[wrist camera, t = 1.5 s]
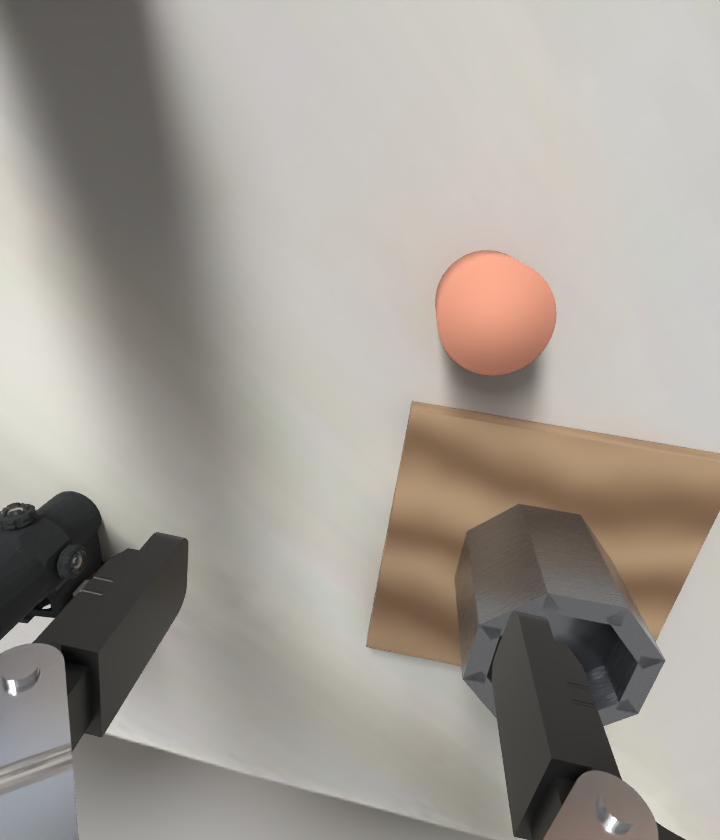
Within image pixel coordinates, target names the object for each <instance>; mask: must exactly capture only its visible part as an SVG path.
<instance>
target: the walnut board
mask: <svg viewBox="0 0 720 840" xmlns="http://www.w3.org/2000/svg"><path fill="white" fill-rule="evenodd" d="M517 504H525V505H530V506H536V507H541V508H547V509H552V510H558V511H564V512H569V513H575V514H580V515H581V516H582V517H583V519H584V520H585V522H586V523H587V525H588V526H589V528H590V529H591V531H592V532H593V533H594V535H595V536H596V538H597V539H598V541H599V542H600V544H601V545H602V546H603V548H604V549H605V551H606V552H607V554H608V555H609V557H610V558H611V560H612V562H613V564H614V566H615V567H616V569H617V571H618V573H619V575H620V577H621V579H622V580H623V582H624V584H625V586H626V588H627V590H628V592H629V594H630V595H631V597H632V599H633V601H634V603H635V605H636V607H637V609H638V610H639V612H640V614H641V616H642V618H643V620H644V622H645V624H646V625H647V627H648V629H649V631H650V633H651V635H652V637H653V638H654V640H655V642H656V640H657V638H658V636H659V634H660V631H661V629H662V627H663V625H664V623H665V621H666V619H667V617H668V615H669V613H670V611H671V609H672V607H673V605H674V603H675V601H676V599H677V597H678V595H679V593H680V591H681V588H682V586H683V584H684V582H685V580H686V578H687V576H688V574H689V572H690V570H691V568H692V566H693V564H694V562H695V560H696V558H697V556H698V554H699V552H700V550H701V548H702V545H703V543H704V541H705V539H706V537H707V535H708V533H709V531H710V529H711V527H712V525H713V523H714V521H715V519H716V517H717V515H718V513H719V511H720V454H719V453H713V452H707V451H701V450H696V449H690V448H684V447H678V446H672V445H666V444H660V443H654V442H649V441H643V440H637V439H631V438H625V437H619V436H613V435H608V434H602V433H596V432H590V431H584V430H578V429H572V428H566V427H561V426H555V425H549V424H543V423H537V422H531V421H525V420H520V419H514V418H508V417H502V416H496V415H490V414H484V413H478V412H473V411H467V410H461V409H455V408H449V407H443V406H437V405H432V404H426V403H420V402H414V401H412V404H411V410H410V415H409V420H408V425H407V431H406V436H405V441H404V446H403V452H402V457H401V462H400V467H399V473H398V478H397V483H396V488H395V494H394V499H393V504H392V509H391V514H390V520H389V525H388V530H387V535H386V541H385V546H384V551H383V556H382V562H381V567H380V572H379V577H378V583H377V588H376V593H375V598H374V604H373V609H372V614H371V619H370V625H369V630H368V636H367V644H366V647H369V648H374V649H379V650H384V651H389V652H394V653H400V654H405V655H410V656H415V657H420V658H425V659H430V660H435V661H440V662H445V663H450V664H455V665H460V666H462V664H461V652H460V640H459V628H458V615H457V603H456V591H455V579H454V578H455V574H456V570H457V566H458V563H459V559H460V555H461V551H462V547H463V544H464V540H465V536H466V532H467V531H468V530H470V529H472V528H474V527H476V526H478V525H479V524H481V523H483V522H485V521H487V520H489V519H491V518H493V517H495V516H496V515H498V514H500V513H502V512H504V511H506V510H508V509H510V508H512V507H513V506H515V505H517Z"/></svg>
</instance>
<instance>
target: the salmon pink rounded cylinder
mask: <svg viewBox="0 0 720 840" xmlns="http://www.w3.org/2000/svg"><path fill="white" fill-rule="evenodd" d="M435 306H436V315H437V324H438V331H439V336H440V339H441V342H442V344H443V347H444V348H445V350H446V352H447V353H448V354H449V356H450V357H451V358H452V359H453V360H454V361H455V362H456V363H457V364H459V365H460V366H462V367H463V368H465V369H467V370H469V371H471V372H474V373H477V374H482V375H503V374H508V373H512V372H514V371H517V370H519V369H521V368H523V367H525V366H527V365H528V364H529V363H531V362H532V361H533V360H535V359H536V358H537V357H538V356H539V355H540V354H541V352H542V351H543V350H544V349H545V347H546V346H547V344H548V342H549V341H550V339H551V337H552V334H553V331H554V327H555V323H556V304H555V299H554V296H553V293H552V291H551V289H550V287H549V285H548V284H547V282H546V281H545V280H544V279H543V277H542V276H541V275H540V274H539V273H537V272H536V271H535V270H533V269H532V268H530V267H528V266H526V265H525V264H523V263H521V262H519V261H517V260H515V259H514V258H512V257H510V256H508V255H506V254H504V253H501V252H497V251H488V250H487V251H478V252H473V253H470V254H468V255H465V256H463V257H462V258H460V259H458V260H457V261H456V262H454V263H453V264H452V265H451V266H450V267H449V268H448V269H447V271H446V272H445V273H444V275H443V276H442V278H441V280H440V282H439V285H438V288H437V292H436V298H435Z"/></svg>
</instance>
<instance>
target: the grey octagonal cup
mask: <svg viewBox="0 0 720 840" xmlns="http://www.w3.org/2000/svg"><path fill="white" fill-rule="evenodd" d="M454 579H455V591H456V603H457V615H458V628H459V640H460V652H461V664H462V677H463V680H464V681H465V682H466V683H467V684H468V686H469V687H470V688H471V689H472V690H473V691H474V693H475V694H476V695H477V696H478V697H479V698H480V700H481V701H482V702H483V703H484V704H485V705H486V707H487V708H488V709H489V710H490V711H491V712H492V714H493V715H494V716H495V717H496V718H497V715H496V708H495V701H494V694H493V687H492V668H493V661H494V657H495V654H496V652H497V649H498V646H499V644H500V641H501V638H502V635H503V633H504V630H505V627H506V625H507V622H508V619H509V617H510V615H511V613H512V612H513V611H519V612H524V613H528V614H533V615H537V616H542V617H545V618H547V620H548V622H549V625H550V628H551V631H552V634H553V638H554V641H555V643H559V644H564V645H567V646H568V647H569V649H570V650H571V651H572V653H573V654H574V655H575V657H576V658H577V659H578V661H579V662H580V663H581V665H582V666H583V669H584V672H585V675H586V678H587V681H588V684H589V686H590V687H589V691H591V692H592V695H593V698H594V701H595V704H596V705H595V708H596V709H597V710H598V712H599V715H600V718H601V721H602V724H603V726H605V725H608V724H611V723H614V722H616V721H619V720H622V719H625V718H628V717H630V716H633V715H636V714H638V713H639V711H640V709H641V707H642V705H643V703H644V701H645V699H646V697H647V695H648V693H649V691H650V690H651V688H652V686H653V684H654V682H655V680H656V678H657V676H658V674H659V672H660V670H661V668H662V666H663V664H664V662H665V659H664V657H663V655H662V653H661V652H660V650H659V648H658V646H657V644H656V642H655V640H654V638H653V637H652V635H651V633H650V631H649V629H648V627H647V625H646V624H645V622H644V620H643V618H642V616H641V614H640V612H639V610H638V609H637V607H636V605H635V603H634V601H633V599H632V597H631V595H630V594H629V592H628V590H627V588H626V586H625V584H624V582H623V580H622V579H621V577H620V575H619V573H618V571H617V569H616V567H615V566H614V564H613V562H612V560H611V558H610V557H609V555H608V554H607V552H606V551H605V549H604V548H603V546H602V545H601V544H600V542H599V541H598V539H597V538H596V536H595V535H594V533H593V532H592V531H591V529H590V528H589V526H588V525H587V523H586V522H585V520H584V519H583V517H582V516H581V515H580V514H575V513H569V512H564V511H558V510H552V509H547V508H541V507H536V506H530V505H525V504H517V505H515V506H513V507H512V508H510V509H508V510H506V511H504V512H502V513H500V514H498V515H496V516H495V517H493V518H491V519H489V520H487V521H485V522H483V523H481V524H479V525H478V526H476V527H474V528H472V529H470V530H468V531H467V532H466V536H465V540H464V544H463V547H462V551H461V555H460V559H459V563H458V566H457V570H456V574H455V578H454Z"/></svg>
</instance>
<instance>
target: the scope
mask: <svg viewBox="0 0 720 840" xmlns="http://www.w3.org/2000/svg"><path fill="white" fill-rule="evenodd" d="M100 525H101V517H100V513H99V510H98V509H97V507H96V505H95V504H94V503H93V502H92V501H91V500H90V499H88V498H87V497H86V496H84V495H82V494H80V493H77V492H73V491H68V492H62V493H60V494H58V495H56V496H55V497H53V498H52V499H51V500H49V501H48V502H47V503H46V504H44V505H43V506H42V507H41V508H39V509H38V510H37V511H36V510H35V506H33V505H30V504H24V503H22V504H20V503H12V504H10V505H8V506H7V507H6V508H4V509H3V510H2V511H0V640H1V639H2V638H3V637H4V636H5V635H6V634H7V633H8V632H9V631H10V630H11V629H12V628H13V627H14V626H15V625H16V624H17V623H18V622H21V623H28V622H29V621H30V620H31V619H32V618H33V617H34V616H42V617H51V618H56V617H57V616H58V614H59V613H60V612H61V611H62V610H63V609H64V608H65V607H66V606H67V605H68V603H69V602H70V601H71V600H72V599H73V598H74V597H75V596H76V595H77V594H78V592H81V591H82V588H83V587H84V586H85V585H86V584H87V583H88V581H89V580H90V579H93V577H94V575H95V574H96V573H97V571H98V570H99V569H100V568H101V567H102V566H103V565H104V564H102V561H101V550H100V544H99V539H98V534H97V531H98V529H99V527H100ZM106 562H107V561H106ZM106 562H105V563H106ZM49 604H51V608H49V609H42V608H43V607H44V606H46V605H49Z"/></svg>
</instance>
